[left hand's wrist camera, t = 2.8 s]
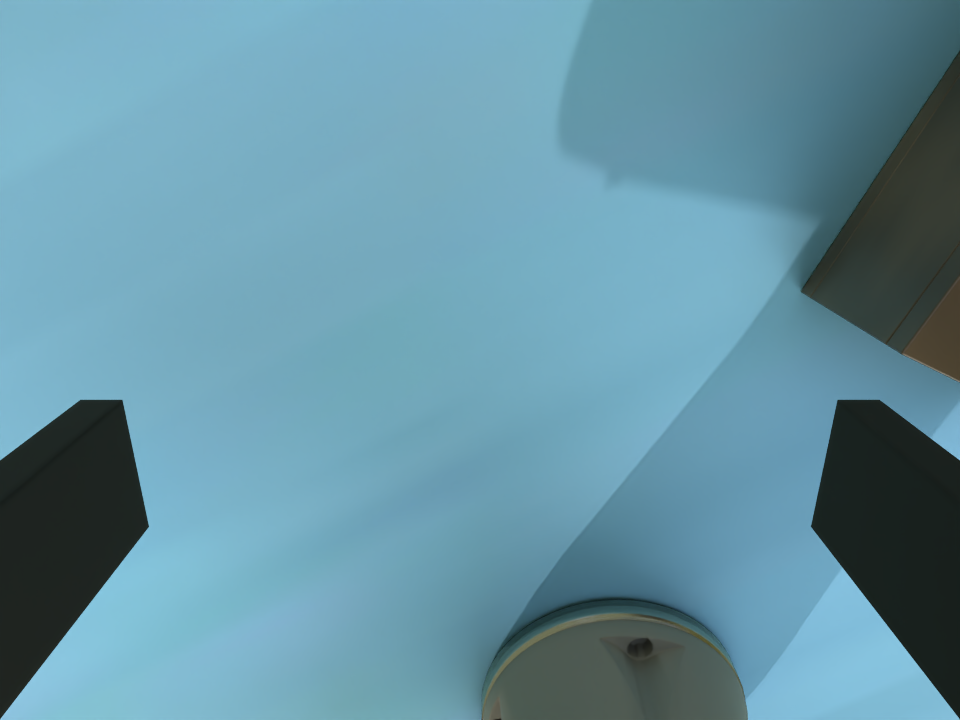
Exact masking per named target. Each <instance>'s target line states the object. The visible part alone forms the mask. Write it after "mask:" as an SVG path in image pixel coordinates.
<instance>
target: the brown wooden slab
mask: <svg viewBox="0 0 960 720" xmlns="http://www.w3.org/2000/svg"><path fill="white" fill-rule="evenodd" d="M801 292H802V293H804V294H805V295H807V296H808V297H810V298H812V299H813V300H815V301H816V302H818V303H820V304H821V305H823V306H824V307H826V308H828V309H829V310H831V311H833V312H834V313H836V314H837V315H839V316H841V317H842V318H844V319H845V320H847V321H849V322H850V323H852V324H854V325H855V326H857V327H858V328H860V329H862V330H863V331H865V332H866V333H868V334H870V335H871V336H873V337H875V338H876V339H878V340H879V341H881V342H883V343H884V344H886V345H888V346H889V347H891V348H892V349H894V350H896V351H897V352H899V353H900V354H902V355H904V356H906V357H908V358H910V359H912V360H914V361H917V362H919V363H921V364H923V365H925V366H927V367H929V368H931V369H933V370H935V371H937V372H939V373H941V374H943V375H945V376H947V377H949V378H951V379H953V380H955V381H958V382H960V52H959V54H958V55H957V57H956V58H955V60H954V61H953V63H952V64H951V66H950V67H949V69H948V70H947V72H946V73H945V75H944V76H943V78H942V79H941V81H940V82H939V84H938V85H937V87H936V88H935V90H934V91H933V93H932V94H931V96H930V97H929V99H928V100H927V102H926V103H925V105H924V106H923V108H922V109H921V111H920V112H919V114H918V115H917V117H916V118H915V120H914V121H913V123H912V124H911V126H910V127H909V129H908V130H907V132H906V134H905V135H904V137H903V138H902V140H901V141H900V143H899V144H898V146H897V147H896V149H895V150H894V152H893V153H892V155H891V156H890V158H889V159H888V161H887V162H886V164H885V165H884V167H883V168H882V170H881V171H880V173H879V174H878V176H877V177H876V179H875V180H874V182H873V183H872V185H871V186H870V188H869V189H868V191H867V192H866V194H865V195H864V197H863V198H862V200H861V201H860V203H859V204H858V206H857V207H856V209H855V210H854V212H853V213H852V215H851V217H850V218H849V220H848V221H847V223H846V224H845V226H844V227H843V229H842V230H841V232H840V233H839V235H838V236H837V238H836V239H835V241H834V242H833V244H832V245H831V247H830V248H829V250H828V251H827V253H826V254H825V256H824V257H823V259H822V260H821V262H820V263H819V265H818V266H817V268H816V269H815V271H814V272H813V274H812V275H811V277H810V278H809V280H808V281H807V283H806V284H805V286H804V287H803V289H802V290H801Z"/></svg>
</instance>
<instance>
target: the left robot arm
mask: <svg viewBox="0 0 960 720" xmlns="http://www.w3.org/2000/svg"><path fill="white" fill-rule="evenodd" d="M148 527H149V525H148V520H147V515H146V511H145V506H144V501H143V496H142V492H141V487H140V482H139V477H138V472H137V468H136V463H135V458H134V453H133V449H132V444H131V439H130V434H129V429H128V425H127V420H126V415H125V410H124V406H123V401H122V400H80V401H79V402H77V403H76V404H75V405H73V406H72V407H71V408H69V409H68V410H67V411H65V412H64V413H63V414H61V415H60V416H59V417H57V418H56V419H55V420H53V421H52V422H51V423H49V424H48V425H47V426H45V427H44V428H43V429H41V430H40V431H39V432H37V433H36V434H35V435H33V436H32V437H31V438H29V439H28V440H27V441H25V442H24V443H23V444H22V445H20V446H19V447H18V448H16V449H15V450H14V451H12V452H11V453H10V454H8V455H7V456H6V457H4V458H3V459H2V460H0V719H1V717H2V716H3V715H4V713H5V712H6V711H7V709H8V708H9V707H10V706H11V704H12V703H13V702H14V700H15V699H16V698H17V697H18V695H19V694H20V693H21V691H22V690H23V689H24V688H25V686H26V685H27V684H28V682H29V681H30V680H31V678H32V677H33V676H34V675H35V673H36V672H37V671H38V669H39V668H40V667H41V666H42V664H43V663H44V662H45V660H46V659H47V658H48V656H49V655H50V654H51V653H52V651H53V650H54V649H55V647H56V646H57V645H58V644H59V642H60V641H61V640H62V638H63V637H64V636H65V635H66V633H67V632H68V631H69V629H70V628H71V627H72V625H73V624H74V623H75V622H76V620H77V619H78V618H79V616H80V615H81V614H82V613H83V611H84V610H85V609H86V607H87V606H88V605H89V603H90V602H91V601H92V600H93V598H94V597H95V596H96V594H97V593H98V592H99V591H100V589H101V588H102V587H103V585H104V584H105V583H106V581H107V580H108V579H109V578H110V576H111V575H112V574H113V572H114V571H115V570H116V569H117V567H118V566H119V565H120V563H121V562H122V561H123V560H124V558H125V557H126V556H127V554H128V553H129V552H130V550H131V549H132V548H133V547H134V545H135V544H136V543H137V541H138V540H139V539H140V538H141V536H142V535H143V534H144V532H145V531H146V530H147V528H148ZM811 527H812V528H813V530H814V531H815V532H816V534H817V535H818V536H819V538H820V539H821V540H822V541H823V543H824V544H825V545H826V547H827V548H828V549H829V550H830V552H831V553H832V554H833V556H834V557H835V558H836V560H837V561H838V562H839V563H840V565H841V566H842V567H843V569H844V570H845V571H846V572H847V574H848V575H849V576H850V578H851V579H852V580H853V582H854V583H855V584H856V585H857V587H858V588H859V589H860V591H861V592H862V593H863V594H864V596H865V597H866V598H867V600H868V601H869V602H870V603H871V605H872V606H873V607H874V609H875V610H876V611H877V613H878V614H879V615H880V616H881V618H882V619H883V620H884V622H885V623H886V624H887V625H888V627H889V628H890V629H891V631H892V632H893V633H894V635H895V636H896V637H897V638H898V640H899V641H900V642H901V644H902V645H903V646H904V647H905V649H906V650H907V651H908V653H909V654H910V655H911V656H912V658H913V659H914V660H915V662H916V663H917V664H918V666H919V667H920V668H921V669H922V671H923V672H924V673H925V675H926V676H927V677H928V678H929V680H930V681H931V682H932V684H933V685H934V686H935V688H936V689H937V690H938V691H939V693H940V694H941V695H942V697H943V698H944V699H945V700H946V702H947V703H948V704H949V706H950V707H951V708H952V709H953V711H954V712H955V713H956V715H957V716H958V717H959V719H960V460H958V459H957V458H956V457H954V456H953V455H952V454H950V453H949V452H948V451H946V450H945V449H944V448H942V447H941V446H940V445H938V444H937V443H936V442H935V441H933V440H932V439H931V438H929V437H928V436H927V435H925V434H924V433H923V432H921V431H920V430H919V429H917V428H916V427H915V426H913V425H912V424H911V423H909V422H908V421H907V420H905V419H904V418H903V417H901V416H900V415H899V414H897V413H896V412H895V411H893V410H892V409H891V408H889V407H888V406H887V405H885V404H884V403H883V402H881V401H880V400H838V401H837V406H836V410H835V415H834V420H833V425H832V429H831V434H830V439H829V444H828V449H827V453H826V458H825V463H824V468H823V472H822V477H821V482H820V487H819V492H818V496H817V501H816V506H815V511H814V515H813V520H812V525H811ZM482 720H748V714H747V706H746V702H745V696H744V692H743V688H742V685H741V682H740V680H739V677H738V675H737V673H736V670H735V668H734V666H733V664H732V661H731V659H730V657H729V655H728V653H727V652H726V650H725V648H724V647H723V646H722V644H721V643H720V641H719V640H718V639H717V638H716V637H715V636H714V635H713V634H712V633H711V632H710V631H709V630H708V629H706V628H705V627H704V626H703V625H701V624H700V623H698V622H697V621H695V620H694V619H692V618H690V617H688V616H687V615H685V614H683V613H680V612H678V611H676V610H673V609H670V608H667V607H664V606H661V605H657V604H653V603H648V602H641V601H634V600H603V601H593V602H588V603H582V604H578V605H574V606H570V607H567V608H564V609H561V610H558V611H555V612H553V613H551V614H549V615H546V616H544V617H542V618H540V619H539V620H537V621H535V622H533V623H532V624H530V625H529V626H527V627H526V628H524V629H523V630H521V631H520V632H519V633H518V634H516V635H515V636H514V637H513V638H512V639H511V640H510V641H509V642H508V643H507V644H506V645H505V646H504V647H503V648H502V650H501V651H500V652H499V653H498V655H497V656H496V658H495V659H494V661H493V662H492V664H491V666H490V668H489V670H488V673H487V675H486V678H485V681H484V686H483V691H482Z"/></svg>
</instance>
